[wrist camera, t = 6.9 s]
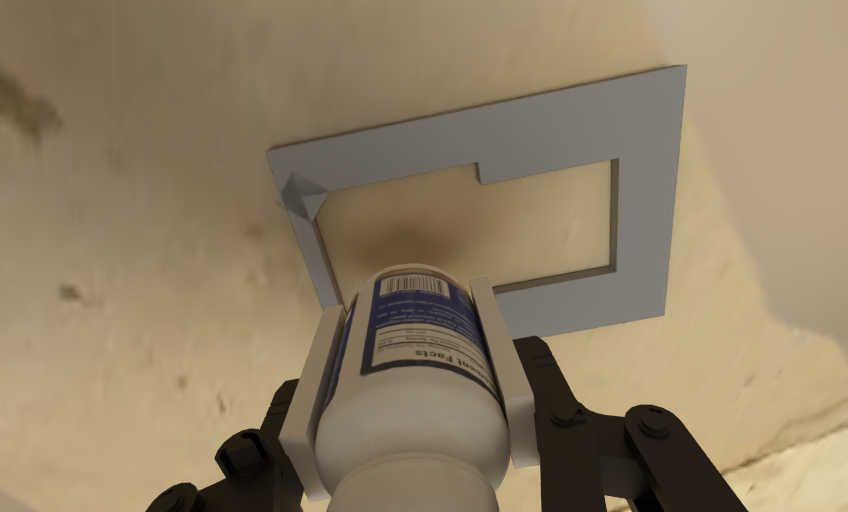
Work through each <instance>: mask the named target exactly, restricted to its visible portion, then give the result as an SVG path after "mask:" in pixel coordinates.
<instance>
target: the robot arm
mask: <svg viewBox="0 0 848 512" xmlns="http://www.w3.org/2000/svg"><path fill="white" fill-rule="evenodd" d="M470 288H471V294H472V300H473V306H474V309H475V312H476V315H477V319H478V322H479V326H480V330H481V333H482V337H483V340H484V344H485V347H486V351H487V354H488V358H489V361H490V365H491V368H492V372H493V376H494V379H495V383H496V386H497V390H498V393H499V397H500V400H501V404H502V408H503V411H504V414H505V417H506V421H507V426H508V431H509V435H510V454H511V458H512V462H513V465H514V469H516V468H522V467H529V466H535V465H540V472H541V507H542V512H607V509H606V503H605V497H604V495H607V496H613V497H619V498H625V499H626V500H627V502H628V504H629V506H630V509H631V511H632V512H748V510H747V509H746V508H745V506H744V505H743V504H742V502H741V501H740V500H739V498H738V497H737V496H736V494H735V493H734V492H733V490H732V489H731V488H730V486H729V485H728V484H727V482H726V481H725V480H724V478H723V477H722V475H721V474H720V473H719V471H718V470H717V469H716V467H715V466H714V465H713V463H712V462H711V461H710V459H709V458H708V457H707V455H706V454H705V453H704V451H703V450H702V449H701V447H700V446H699V444H698V443H697V442H696V440H695V439H694V438H693V436H692V435H691V434H690V432H689V431H688V430H687V428H686V427H685V426H684V424H683V423H682V422H681V421H680V420H679V419H678V418H677V417H676V416H675V415H674V414H673V413H671V412H670V411H668V410H666V409H664V408H662V407H658V406H654V405H638V406H635V407H632V408H631V409H629V410H628V411H627V412H626V415H625V417H620V416H610V415H603V414H598V413H595V412H593V411H590V410H588V409H587V408H585V407H584V406H583V405H582V404H581V403H580V402H578V401H577V400H576V398H575V397H574V395H573V393H572V391H571V389H570V387H569V385H568V383H567V381H566V380H565V378H564V376H563V374H562V372H561V370H560V368H559V366H558V365H557V362H556V360H555V358H554V356H553V355H552V352H551V351H550V349H549V347H548V345H547V343H546V342H544V341H543V340H542V339H540V338H539V337H538V336H530V337H524V338H519V339H513V340H512V339H511V336H510V334H509V331H508V329H507V326H506V324H505V321H504V318H503V316H502V313H501V311H500V308H499V306H498V303H497V301H496V298H495V295H494V293H493V290H492V288H491V285H490V283H489V280H488V278H483V279H477V280H472V281H470ZM345 320H346V314H345V310H344V307H343V305H338V306H332V307H327V308H325V310H324V312H323V315H322V318H321V321H320V323H319V326H318V329H317V332H316V335H315V337H314V340H313V343H312V346H311V349H310V351H309V354H308V357H307V360H306V363H305V365H304V368H303V371H302V374H301V377H300V379H294V380H288V381H285V382H284V383H283V384H282V386H281V387H280V388H279V389H278V390H277V391H276V392H275V395H274V397H273V400H272V402H271V404H270V405H271V407H269V409H268V411H267V414H266V417H265V419H264V421H263V423H262V426H261V428H260V430H259V429H252V428H251V429H247V430H242V431H240V432H238V433H236V434H234V435H233V436H231V437H230V438H229V439H228V440H226V441H225V442H224V443H223V444H222V446H221V447H220V448H219V449H218V451H217V453H216V456H215V458H214V459H215V460H216V462H217V464H218V465H219V467H220V469H221V470H222V472H223V473H224V475H225V477H226V478H225V479H223V480H221V481H219V482H217V483H215V484H213V485H210V486H208V487H206V488H204V489H201V490H199V491H198V489H197V488H196V486H194V485H193V484H191V483H180V484H177V485H174V486H172V487H170V488H169V489H167V490H166V491H164V492H162V493H161V494H160V495H159V496H158V497H157V498H156V499H155V500H154V501H153V502H152V503H151V505H150V506H149V507H148V509H147V510H146V511H145V512H303V509H302V507H301V506H300V503H301V499H302V495H303V491H304V492H305V494H306V496H307V498H308V500H309V502H314V501H320V500H326V499H332V497H331V496H330V495H329V494H328V492H327V491H326V489H325V488H324V486H323V484H322V482H321V480H320V477H319V474H318V471H317V467H316V463H315V443H316V437H317V430H318V425H319V422H320V418H321V414H322V411H323V406H324V403H325V399H326V395H327V392H328V388H329V383H330V380H331V376H332V372H333V368H334V365H335V361H336V357H337V354H338V349H339V345H340V341H341V337H342V333H343V330H344V325H345ZM539 455H540V456H539Z"/></svg>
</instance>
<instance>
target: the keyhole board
mask: <svg viewBox="0 0 848 512" xmlns="http://www.w3.org/2000/svg"><path fill="white" fill-rule="evenodd" d="M686 74H687V65H673V66H668V67H664V68H659V69H654V70H649V71H644V72H639V73H635V74H630V75H625V76H620V77H615V78H610V79H606V80H601V81H596V82H591V83H586V84H582V85H577V86H572V87H567V88H562V89H557V90H553V91H548V92H543V93H538V94H533V95H528V96H524V97H519V98H514V99H509V100H504V101H499V102H495V103H490V104H485V105H480V106H475V107H470V108H466V109H461V110H456V111H451V112H446V113H441V114H437V115H432V116H427V117H422V118H417V119H412V120H408V121H403V122H398V123H393V124H388V125H383V126H379V127H374V128H369V129H364V130H359V131H354V132H350V133H345V134H340V135H335V136H330V137H325V138H321V139H316V140H311V141H306V142H301V143H296V144H292V145H287V146H282V147H277V148H272V149H269V150H268V151H266V155H267V158H268V160H269V163H270V166H271V169H272V171H273V174H274V177H275V180H276V182H277V185H278V188H279V191H280V195H279V197H278V199H277V201H276V203H277V204H278V205H280V206H282V207H284V208H286V210H287V213H288V216H289V218H290V221H291V224H292V227H293V229H294V232H295V235H296V238H297V240H298V243H299V246H300V249H301V251H302V254H303V257H304V260H305V263H306V265H307V268H308V271H309V274H310V276H311V279H312V282H313V285H314V287H315V290H316V293H317V296H318V298H319V301H320V304H321V307H322V309H323V312H324V310H325V308H327V307H332V306H338V305H343V302H342V299H341V296H340V293H339V290H338V287H337V284H336V281H335V278H334V275H333V272H332V269H331V266H330V263H329V260H328V257H327V254H326V251H325V248H324V245H323V242H322V239H321V236H320V233H319V230H318V227H317V224H316V221H315V216H316V214H317V213H318V211H319V209H320V207H321V206H322V204H323V202H324V201H325V199H326V197H327V196H328V194H329V192H331V191H336V190H341V189H346V188H351V187H356V186H361V185H366V184H371V183H376V182H381V181H386V180H391V179H396V178H401V177H406V176H411V175H416V174H421V173H426V172H431V171H436V170H441V169H446V168H451V167H456V166H461V165H466V164H471V163H476V165H477V172H478V180H479V182H480V184H481V185H485V184H490V183H495V182H501V181H506V180H511V179H516V178H521V177H526V176H531V175H536V174H541V173H546V172H551V171H556V170H561V169H566V168H571V167H576V166H581V165H586V164H591V163H596V162H601V161H607V160H612V173H611V230H610V266H606V267H601V268H596V269H590V270H585V271H580V272H574V273H569V274H563V275H558V276H553V277H547V278H542V279H537V280H531V281H526V282H521V283H515V284H510V285H505V286H499V287H494V288H493V293H494V295H495V298H496V301H497V303H498V306H499V308H500V311H501V313H502V316H503V318H504V321H505V324H506V326H507V329H508V331H509V334H510V336H511V339H512V340H513V339H519V338H524V337H530V336H538V337H539V338H542V337H548V336H553V335H559V334H565V333H570V332H576V331H581V330H587V329H592V328H598V327H603V326H609V325H615V324H620V323H626V322H631V321H637V320H642V319H648V318H653V317H659V316H664V314H665V303H666V292H667V281H668V270H669V259H670V248H671V238H672V227H673V216H674V205H675V194H676V183H677V172H678V161H679V150H680V139H681V129H682V118H683V107H684V96H685V85H686ZM343 307H344V305H343ZM344 310H345V308H344ZM345 314H346V317H347V314H348V313H347V312H345Z"/></svg>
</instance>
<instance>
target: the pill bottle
mask: <svg viewBox="0 0 848 512" xmlns="http://www.w3.org/2000/svg"><path fill="white" fill-rule="evenodd" d="M509 461H510V435H509V431H508V426H507V421H506V417H505V414H504V411H503V408H502V404H501V400H500V397H499V393H498V390H497V386H496V383H495V379H494V376H493V372H492V368H491V365H490V361H489V358H488V354H487V351H486V347H485V344H484V340H483V337H482V333H481V330H480V326H479V322H478V319H477V315H476V312H475V309H474V306H473V303H472V301H471V298H470V296H469V294H468V292H467V291H466V289H465V288H464V286H463V285H462V284H461V283H460V282H459V281H458V280H457V279H456V278H454V277H453V276H452V275H450V274H449V273H447V272H445V271H443V270H441V269H439V268H437V267H434V266H431V265H426V264H419V263H407V264H398V265H393V266H391V267H387V268H384V269H382V270H381V271H379V272H377V273H376V274H374V275H373V276H371V277H370V278H369V279H368V280H367V281H365V282H364V283H363V284H362V286H361V287H360V288H359V289H358V291H357V292H356V294H355V295H354V297H353V300H352V302H351V305H350V308H349V311H348V314H347V317H346V320H345V325H344V330H343V333H342V337H341V341H340V345H339V349H338V354H337V357H336V361H335V365H334V368H333V372H332V376H331V380H330V383H329V388H328V392H327V395H326V399H325V403H324V406H323V411H322V414H321V418H320V422H319V425H318V430H317V437H316V443H315V463H316V467H317V471H318V474H319V477H320V480H321V482H322V484H323V486H324V488H325V489H326V491H327V492H328V494H329V495H330V496H331V497H332V499H331V500H330V503H329V505H328V508H327V512H499V506H498V502H497V499H496V495H495V492H496V491H497V489H498V488H499V486H500V485H501V483H502V481H503V479H504V477H505V474H506V471H507V469H508V466H509Z"/></svg>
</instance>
